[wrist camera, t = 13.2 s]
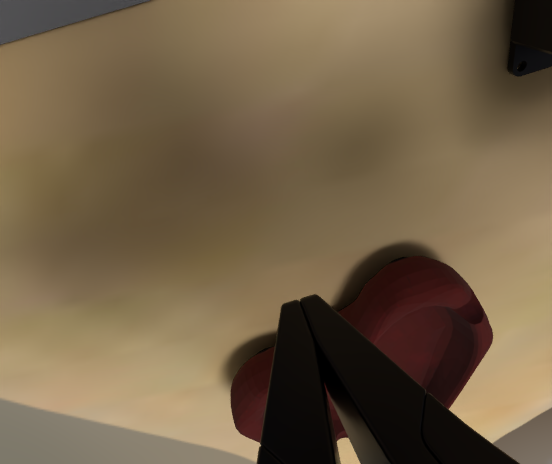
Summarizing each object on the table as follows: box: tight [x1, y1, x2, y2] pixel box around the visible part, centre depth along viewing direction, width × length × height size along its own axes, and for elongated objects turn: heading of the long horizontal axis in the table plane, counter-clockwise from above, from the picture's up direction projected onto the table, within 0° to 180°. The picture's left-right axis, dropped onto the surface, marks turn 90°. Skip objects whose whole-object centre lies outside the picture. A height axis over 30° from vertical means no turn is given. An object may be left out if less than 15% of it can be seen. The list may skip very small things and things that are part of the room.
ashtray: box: [231, 256, 493, 443], centre depth 30 cm, size 18×16×5 cm
